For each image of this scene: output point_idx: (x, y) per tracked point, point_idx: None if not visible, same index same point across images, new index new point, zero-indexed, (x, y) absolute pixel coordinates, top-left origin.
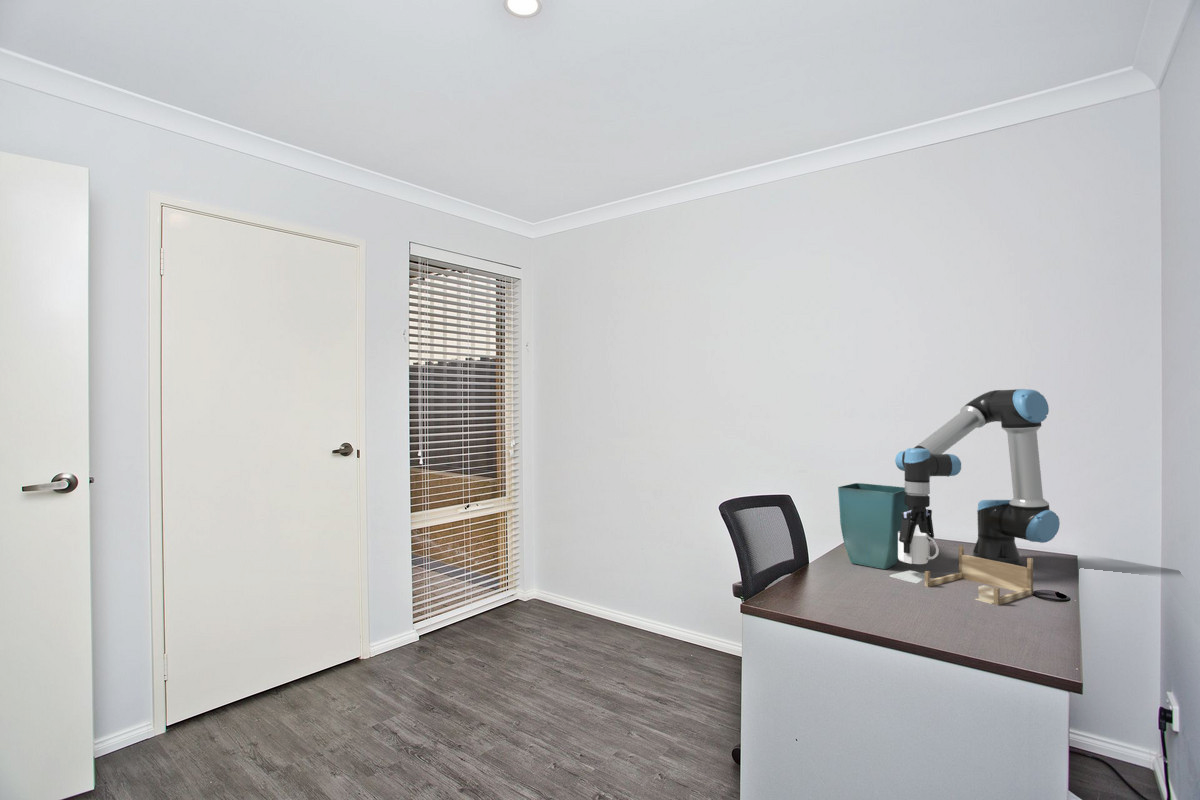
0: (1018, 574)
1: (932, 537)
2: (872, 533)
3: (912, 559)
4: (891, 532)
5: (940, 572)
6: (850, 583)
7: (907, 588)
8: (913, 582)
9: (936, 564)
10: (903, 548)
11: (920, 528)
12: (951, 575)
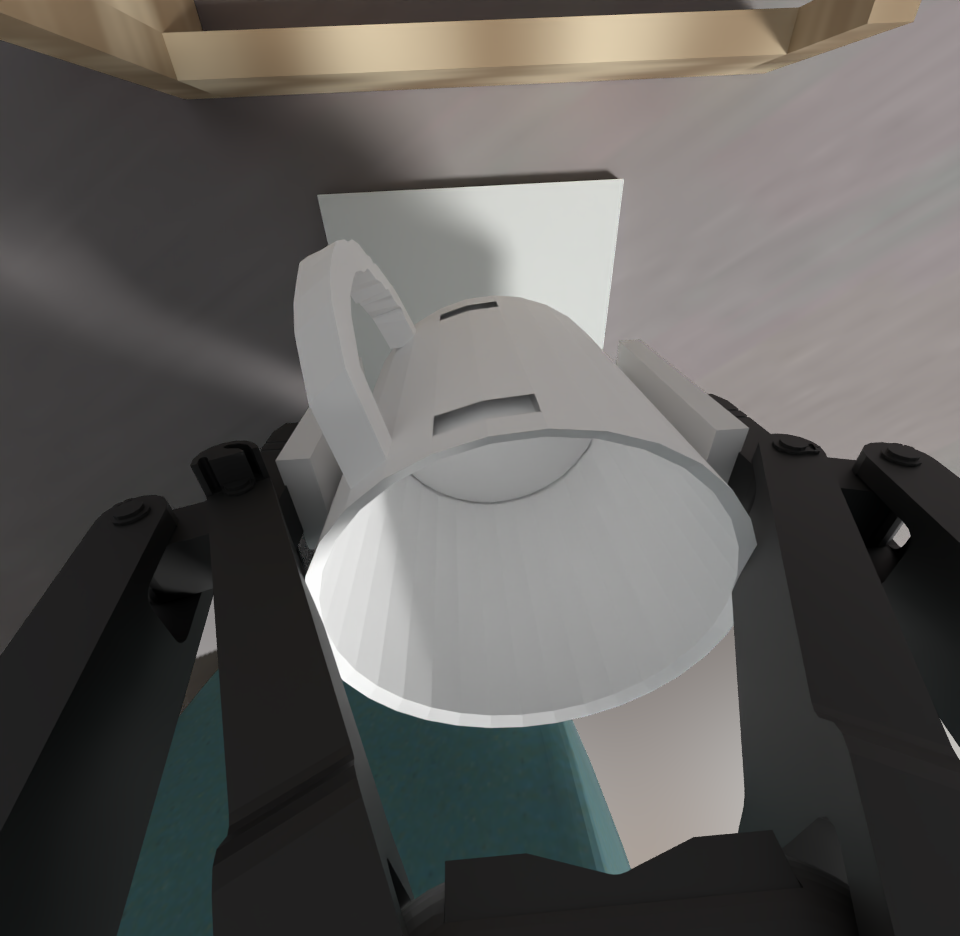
0: None
1: (161, 500)
2: (584, 761)
3: (638, 354)
4: (559, 730)
5: (170, 364)
6: (888, 437)
7: (787, 202)
8: (607, 277)
9: (49, 493)
10: (647, 489)
11: (341, 689)
12: (371, 36)
